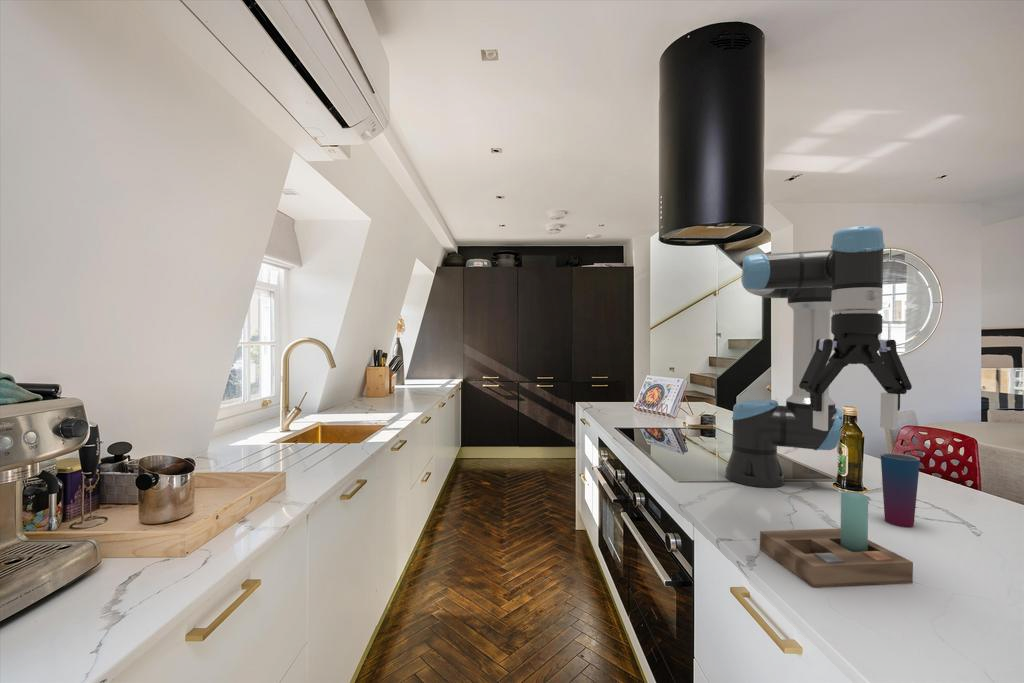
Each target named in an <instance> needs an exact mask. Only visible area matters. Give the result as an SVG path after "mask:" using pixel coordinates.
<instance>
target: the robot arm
mask: <svg viewBox="0 0 1024 683" xmlns="http://www.w3.org/2000/svg"><path fill="white" fill-rule="evenodd" d="M885 246H886V245H885V243H884V231H883V229H882V228H881V227H879V226H876V225H859V226H857V225H856V226H849V227H845V228H842V229H839V230H837V231H835V232H834V233H833V235H832V242H831V246H830V248H831V249H827V250H825V249H823V250H822V249H821V250H809V251H796V252H778V253H777V252H776V253H757V254H751V255H750V254H749V255H746V256H745V257H743V260H742V270H741V272H742V273H741V276H740V277H741V283H742V284H741V285H742V287H743V288H744V289H745V290H746V291H747V292H748V293H750V294H752V295H756V296H758V297H762V298H767V299H769V298H770V299H787V306H788V307H790V308H791V310H793V311H792V312H793V334H792V335H793V336H792V337H793V343H792V344H793V345H792V349H793V350H792V392H791V394H790V396H789V397H787V398H786V401H785V405H779V403H778V401H777V399H776V400H775V399H751V400H750V399H748V400H743V401H739V402H737V403H735V404H734V405H733V409H732V417H731V420H732V440H731V441H732V444H731V445H732V451H731V454H730V456H729V459H728V462H727V464H726V467H725V477H726V479H728V480H730V481H731V482H734V483H737V484H741V485H745V486H750V487H751V486H752V487H759V488H777V487H781V486H784V485H785V484H784V482H785V481H784V479H785V476H784V472H783V469H782V467H781V464H780V461H779V459H778V447H783V448H784V447H785V448H795V449H796V448H797V449H804V450H805V449H807V450H813V451H819V450H820V451H832V450H834V449H836V448H837V446H838V445H839V443H840V440H841V437H842V434H843V433H842V432H843V427H842V426H843V425H844V423H843V422H844V421H843V419H844V418H843V417H844V416H843V415H844V414H843V412H842V410H841V409H839V408H836V402H835V400H833V399H832V398H831V397H830V392H829V391H830V390H829V389H830V385H831V384H832V383H833V381H835V379H836V378H837V377H838V376H839V374H840V373H841V371H842V370H843V369H844V368H845V367H846V366H849V365H859V364H861V365H864V366H865V367H866V368H867V369H868V370H869V371H870V373H871V374H872V375H873V377H874V378H875V379H876V380H877V381H878V383H879V385H880V386H881V387H882V388H883V390H884V391H885V392H880V421H879V422H880V426H879V427H880V428H884V429H887V430H892V431H897V430H898V416H899V415H898V412H900V409H901V395H905V394H907V391H910V390H912V387H913V385H912V383H911V381H910V379H909V376H908V374H907V372H906V370H905V367H904V365H903V363H902V360H901V358H900V355H899V354H898V352H897V342H896V340H895V339H880V338H879V335H881V334H882V333H883V315H882V314H881V313H879V311H882V310H883V292H884V290H883V288H884V286H883V283H884V282H883V281H884V280H883V279H884V248H885ZM831 312H833V313H834V314H832V316H831ZM830 332H831V333H830ZM830 334H832V335H833V339H832V338H830V337H831V335H830ZM833 351H834V352H833ZM832 352H833V354H832ZM831 354H832V355H831ZM841 427H842V428H841ZM840 428H841V430H840ZM839 430H840V431H839Z"/></svg>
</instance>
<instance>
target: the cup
mask: <svg viewBox="0 0 1024 683" xmlns="http://www.w3.org/2000/svg"><path fill="white" fill-rule="evenodd" d="M920 461H921V459H920V457H917V456H914V455H910V454H906V453H905V454H904V453H897V452H882V453H880V465H881V480H882V496H883V498H882V499H883V511H884V512H883V513H884V515H883V516H884V521H885V522H886V523H888V524H889V525H893V526H897V527H901V528H913V527H915V517H916V516H915V515H916V507H917V506H916V505H917V495H918V484H919V477H920V476H919V475H920V474H919V473H920V463H921V462H920Z"/></svg>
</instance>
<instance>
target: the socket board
mask: <svg viewBox="0 0 1024 683" xmlns="http://www.w3.org/2000/svg"><path fill="white" fill-rule="evenodd" d="M840 541H841V528H817V529H811V528H810V529H788V530H787V529H785V530H782V529H781V530H760V531H759V550H760V551H761V552H763V553H765V554H766V555H768V556H769V557H770V558H772V559H773V560H775V561H776V562H777V563H779V564H781V566H783V567H784V568H786V569H787V570H789V571H790V572H791V573H792V574H794V575H796V576H797V577H798V578H800V579H801V580H802V581H804V582H806V583H807V584H808V585H810V586H811V587H812V588H827V587H828V588H829V587H832V588H833V587H851V586H852V587H853V586H871V585H873V586H874V585H876V586H877V585H893V584H894V585H895V584H897V583H898V584H913V582H914V579H913V578H914V574H913V573H914V562H913V561H911V560H910V559H907V558H905V557H904V556H901V555H899V554H898V553H897V552H896V553H895V552H894V551H891V549H888V548H886V547H884V546H881V545H879V544H878V543H876V542H873V541H871V540H870V539H868V551H864V552H851V551H850V550H848V549H846V548H844V547H842V546H840Z"/></svg>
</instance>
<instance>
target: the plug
mask: <svg viewBox="0 0 1024 683" xmlns="http://www.w3.org/2000/svg"><path fill="white" fill-rule="evenodd" d="M840 529H841V541H840V546H842V547H844V548H846V549H848V550H850V551H851V552H864V551H868V540H869V539H868V537H869V496H866V495H865V494H861V493H858V492H851V491H843V492H841V493H840Z"/></svg>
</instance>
